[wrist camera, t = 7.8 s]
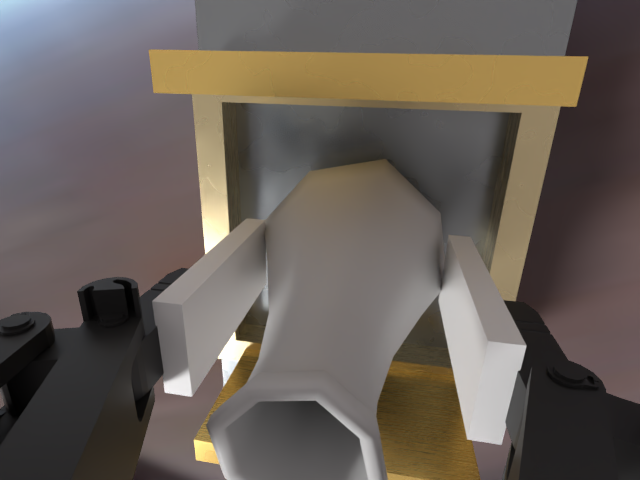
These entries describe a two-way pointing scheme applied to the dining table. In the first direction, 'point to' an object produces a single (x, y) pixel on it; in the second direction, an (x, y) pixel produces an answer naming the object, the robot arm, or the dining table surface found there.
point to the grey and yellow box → (380, 153)
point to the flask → (332, 325)
